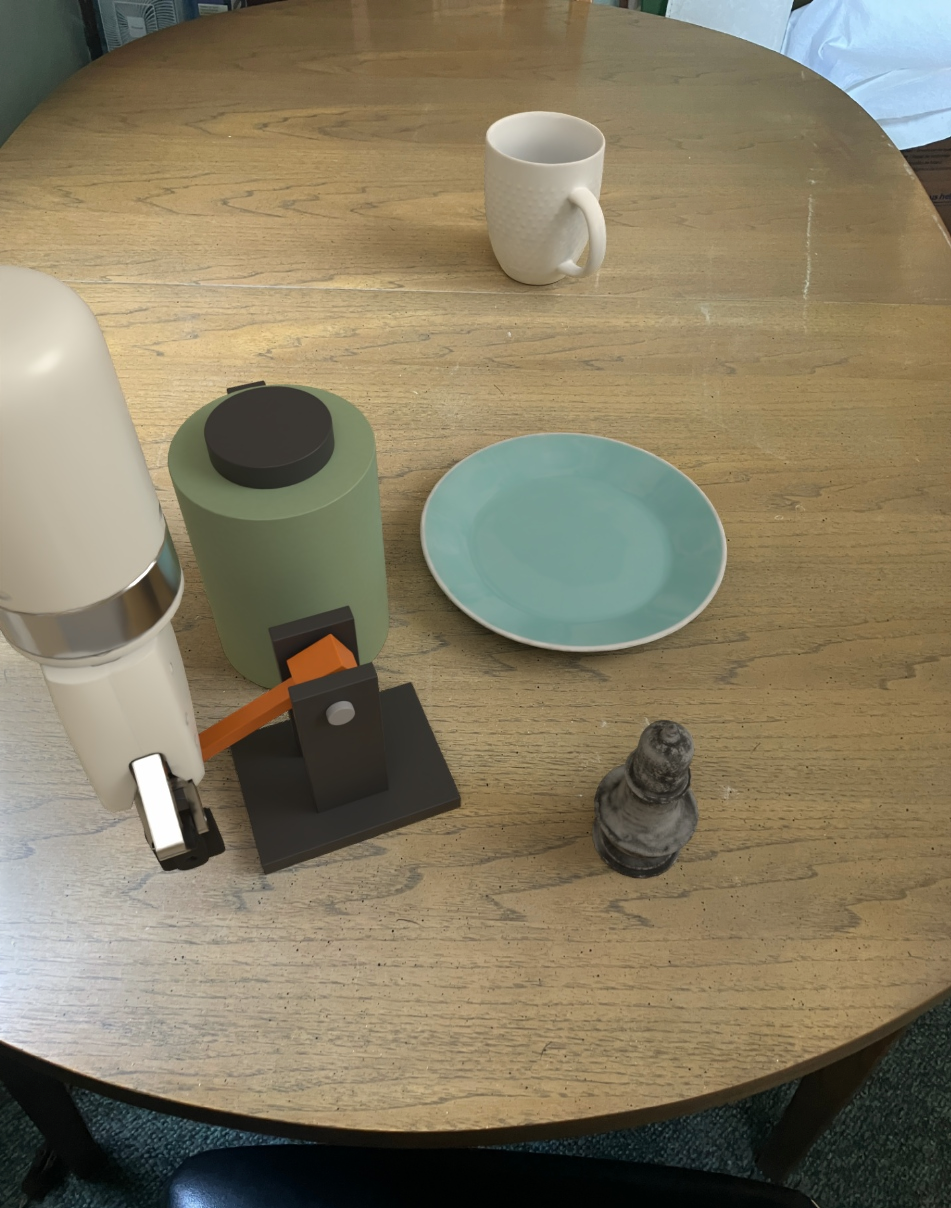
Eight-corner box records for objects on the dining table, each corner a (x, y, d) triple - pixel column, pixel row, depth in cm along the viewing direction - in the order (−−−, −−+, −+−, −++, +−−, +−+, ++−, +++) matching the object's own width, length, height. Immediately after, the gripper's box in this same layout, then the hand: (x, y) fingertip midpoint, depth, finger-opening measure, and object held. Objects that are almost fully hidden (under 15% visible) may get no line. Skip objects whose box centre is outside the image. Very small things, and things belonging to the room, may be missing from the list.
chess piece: (582, 874, 54) (610, 768, 45) (591, 785, 58) (617, 669, 49) (686, 891, 54) (734, 786, 45) (687, 799, 58) (732, 685, 48)
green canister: (241, 714, 61) (182, 520, 47) (200, 569, 69) (139, 368, 55) (412, 663, 64) (401, 466, 50) (353, 529, 72) (331, 328, 58)
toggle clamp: (264, 875, 54) (223, 760, 44) (230, 748, 59) (186, 619, 49) (461, 807, 57) (463, 684, 47) (411, 691, 62) (404, 559, 52)
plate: (483, 427, 80) (484, 400, 77) (745, 498, 75) (754, 471, 73) (369, 617, 66) (367, 590, 64) (680, 718, 61) (688, 693, 59)
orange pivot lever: (181, 820, 50) (151, 806, 48) (164, 744, 53) (136, 729, 51) (373, 704, 49) (350, 685, 47) (345, 633, 52) (323, 613, 50)
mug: (636, 296, 93) (659, 163, 83) (546, 330, 89) (558, 195, 79) (547, 229, 101) (557, 100, 91) (460, 258, 97) (461, 126, 87)
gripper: (-27, 461, 43) (87, 681, 56) (2, 777, 33) (133, 955, 46) (142, 424, 45) (213, 645, 58) (218, 711, 35) (284, 900, 48)
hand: (178, 781), depth 52 cm, fingers open, 9 cm apart
